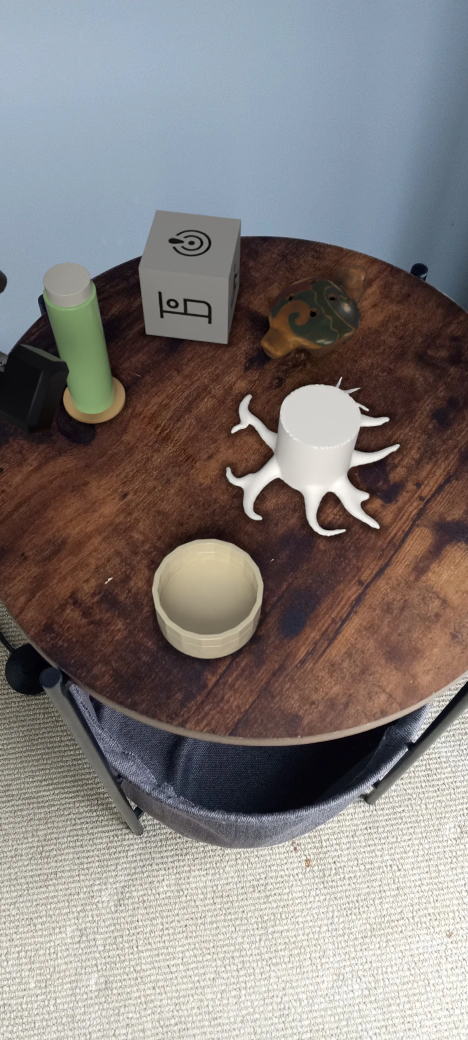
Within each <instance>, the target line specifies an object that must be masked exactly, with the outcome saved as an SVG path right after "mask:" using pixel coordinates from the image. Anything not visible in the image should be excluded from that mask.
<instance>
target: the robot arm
mask: <svg viewBox="0 0 468 1040" xmlns="http://www.w3.org/2000/svg"><path fill="white" fill-rule="evenodd" d="M7 286H8V277H7V275H6V274H5V273H4V272H3V271H2V270H1V269H0V295H1V294H2V293H3V292H4V291H5V290H6V288H7ZM69 372H70V371H69V368H68V366H67V363H66V362H65V361H63V360H61V359H60V357H57V356H55V355H53V354H52V353H49V352H48V351H46V350H43V349H42V348H40V347H38V346H35V345H28V344H21V343H19V344H18V345H16V347H15V348H13V350H12V351H11V352H10V353H6V352H4V351H2V350H0V419H2V420H4V421H5V422H7V423H9V424H11V425H13V426H14V427H17V428H19V429H21V430H22V431H24V432H26V433H28V434H40V433H41V434H42V433H45V432H48V431H49V430H51V429H52V426H53V423H54V420H55V418H56V413H57V411H58V408H59V404H60V401H61V399H62V395H63V394H64V391H65V390H64V389H65V387H66V385H67V383H66V381H67V378H68V375H69Z"/></svg>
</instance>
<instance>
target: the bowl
mask: <svg viewBox="0 0 468 1040" xmlns="http://www.w3.org/2000/svg"><path fill="white" fill-rule="evenodd" d="M154 572H155V573H154V576H153V582H152V587H151V593H152V594H151V595H152V599H153V604H154V610H155V614H156V619H157V623H158V627H159V629H160V631H161V634H162V635H163V637H164V638H165V639H166V640H167V641H168V643H170V645H172V647H174V648H175V649H176V650H178V651H180V652H181V653H183V654H185V655H187V656H190V657H194V658H198V659H217V658H222V657H226V656H229V655H231V654H233V653H235V652H236V651H238V650H240V649H241V648H242V647H243V646H245V645H246V644H247V643H248V642H249V641H250V640H251V638H252V637H253V635H254V634H255V632H256V630H257V628H258V625H259V621H260V617H261V611H262V605H263V596H264V581H263V579H262V574H261V571H260V568H259V566H258V565H257V563H256V562H255V561H254V560H253V558H252V557H251V556H250V554H249V553H248V552H247V551H245V550H243V549H241V548H240V547H238V546H237V545H235V544H234V543H232V542H229V541H225V540H220V539H217V538H206V539H205V538H204V539H194V540H192V541H188V542H187V543H183V544H181V545H179V546H177V547H176V548H175V549H173V550H172V551H171V552H169V553H168V554H166V556H165V557H164V558H163V559H162V561H161V562H160V564H159V566H158V568H157V569H156V571H154Z"/></svg>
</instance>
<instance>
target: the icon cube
mask: <svg viewBox="0 0 468 1040" xmlns="http://www.w3.org/2000/svg"><path fill="white" fill-rule="evenodd" d="M153 216H154V217H153V220H152V223H151V226H150V229H149V233H148V236H147V239H146V242H145V245H144V249H143V252H142V256H141V258H140V262H139V264H138V273H139V274H138V275H139V276H138V277H139V283H140V292H141V293H140V294H141V302H142V310H143V319H144V328H145V334H146V335H149V336H150V335H151V336H159V337H167V338H174V339H183V340H192V341H199V342H200V341H201V342H208V343H215V344H223V345H228V342H229V339H230V333H231V328H232V323H233V318H234V314H235V310H236V309H235V308H236V304H237V299H238V295H239V288H240V269H241V267H240V265H241V237H242V235H241V234H242V218H241V219H240V218H231V217H223V216H222V217H221V216H214V215H206V214H205V215H204V214H197V213H189V212H181V211H179V212H178V211H171V210H161V209H155V213H154V215H153Z"/></svg>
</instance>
